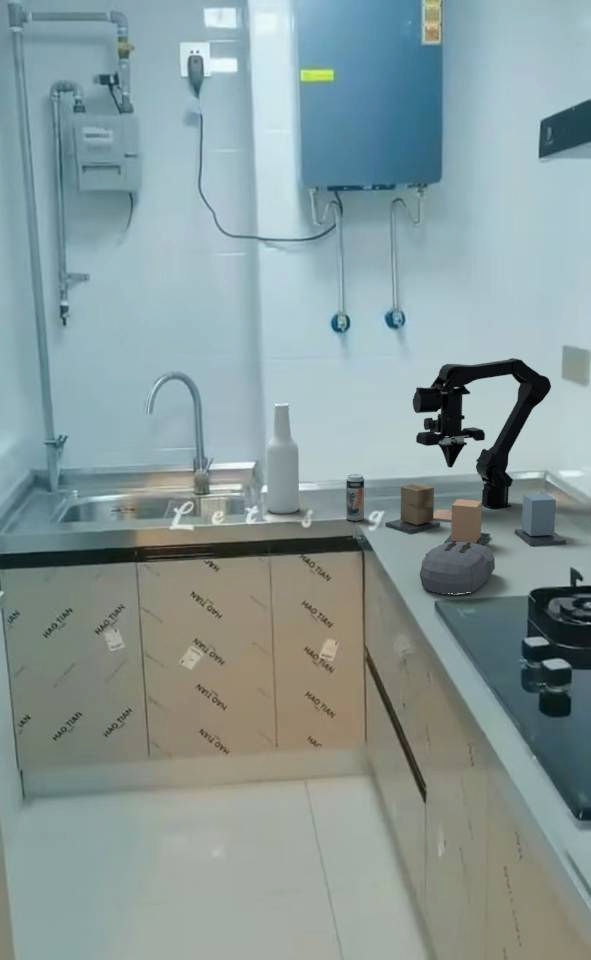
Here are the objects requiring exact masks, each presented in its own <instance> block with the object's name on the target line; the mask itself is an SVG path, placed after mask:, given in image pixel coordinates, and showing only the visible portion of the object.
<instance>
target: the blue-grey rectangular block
mask: <svg viewBox="0 0 591 960" xmlns="http://www.w3.org/2000/svg"><path fill="white" fill-rule="evenodd" d="M522 497H523V498H522V518H521V529H522V530H523V531H525V532H526V533H527V534H529V535H530V536H540V535H554V532H555V525H556V523H555V522H556V504H557V499H556V498H554V497H552V496H551V495H549V494H548V493H532V494H531V493H529V494H523V495H522Z"/></svg>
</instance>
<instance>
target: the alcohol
mask: <svg viewBox="0 0 591 960" xmlns="http://www.w3.org/2000/svg"><path fill="white" fill-rule="evenodd" d="M273 406H274V422H273V435H272V437H271V439H270V440H269V442H268V443H267V445H266V451H265V452H266V487H267V488H266V491H267V493H266V494H267V500H266V501H267V509H268V511H269V512H270V513H272V514H278V515H279V514H280V515H286V514H287V515H288V514H294V513H296V512H297V511H298V510H299V508H300V485H299V484H300V479H299V478H300V477H299V476H300V475H299V473H300V472H299V470H300V469H299V462H300V461H299V446H298V443H297V442H296V440H295V439H294V438H293V437H292V433H291V423H290V414H289V413H290V412H289V411H290V408H289V406H290V404H289V403H287V402H277V403H275V404H274V405H273Z"/></svg>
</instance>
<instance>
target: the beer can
mask: <svg viewBox="0 0 591 960" xmlns="http://www.w3.org/2000/svg"><path fill="white" fill-rule="evenodd" d="M345 481H346V483H345V485H346V497H345V498H346V500H345V501H346V502H345V503H346V516H345V517H346V519H347V520H349V521H350V520H351V521H350V522H359V520H360V521H362V520H364V519H365V478H364V476H363V475H362V474H358V473H356V474H348V476H347V478H346V479H345Z"/></svg>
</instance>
